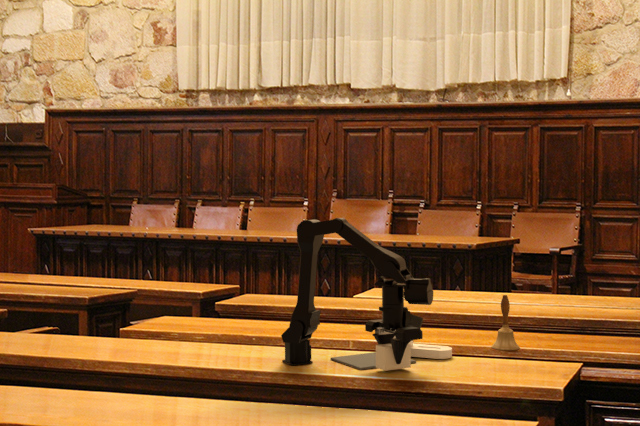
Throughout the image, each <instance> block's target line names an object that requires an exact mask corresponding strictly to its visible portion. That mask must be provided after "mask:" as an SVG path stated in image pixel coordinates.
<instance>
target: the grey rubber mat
mask: <svg viewBox="0 0 640 426" xmlns="http://www.w3.org/2000/svg"><path fill="white" fill-rule="evenodd" d="M330 360H331V361H334V362H336V363H338V364H342V363H343V364H342V365H344V364H346V365H345V366H347V365H349V366H348V367H350V366H352V367H351V368H353V367H354V369H356V368H357V370H359V369H360V370H359V371H364V369H365V370H371V368H373V369H377V368H376V351H375V352H365V353H356V354H349V355H341V356H334V357H332V356H331V357H330ZM416 363H417V360H415V359H412V358H411V364H416Z"/></svg>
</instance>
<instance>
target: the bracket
mask: <svg viewBox="0 0 640 426" xmlns="http://www.w3.org/2000/svg"><path fill="white" fill-rule="evenodd" d="M394 338H396V336H394ZM408 344H410V345H411V358H412V357H413V358H422V359H423V358H427V359H437V360H446V359H450V358H452V357H453V347H451V346H447V345H435V344H424V343H414V340H413V341H410V342H409V343H408Z"/></svg>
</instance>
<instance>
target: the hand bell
mask: <svg viewBox="0 0 640 426" xmlns="http://www.w3.org/2000/svg"><path fill="white" fill-rule="evenodd" d="M510 305H511V303H510V301H509V298H508V294H503V295H502V298H501V301H500V311H501V314H502V327H501V328H500V329H498V330H497V337H496V339H495V342H494V343H493V344H492V345H491V348H492V349H494V350H498V351H516V350H520V349H521V348H520V345H519V344H517V341H516V340H515V336H514V335H515V334H514V330H513V329H511V328H510V326H509V313H510V309H511V308H510Z"/></svg>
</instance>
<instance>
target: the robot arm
mask: <svg viewBox="0 0 640 426" xmlns="http://www.w3.org/2000/svg"><path fill="white" fill-rule="evenodd" d="M330 234H337V235H338V236H340V237H341V238H342V239H343V240H344V241H346V242H347V243H348V244H350V245H351V246H352V247H353V248H355V249H356V250H358V252H360V254H361V253H362V255H364V256H365V258H367V259H368V260H370V262H371V263H372V265H373V267H374V268H375V269H376V270H377V271H378V272H379V273H380V275H381V276H379V278H378V280H376V282H374V284H373V286H375V287H381V306H378V311H379V312H381V318H380V319H371V320H370V319H369V320H367V321H366V323H365V330H364V331H365V332H369V333H372V336H373V337H374V339H375V342H376V343H377V345H380V344H388V343H391V345H392V349H393V353H394V357H395V361H396V364H400V363H401V361H402V358H403V355H404V352H405V349H406V347H407V344H408V343H409V342H410V341H413V342H414V341H416V340H423V330H422V329H421V328H422V324H423V321H424V318H423V317H421V316H418V315H415V314H412V313H411V311H410V310H409V308H408V307H407V306H405V302H407V303H408V304H409V305H420V306H421V305H422V306H431V305H432V304H433V300H434V289H433V285H432V283H431V278H429V277H428V278H427V277H426V278H415V277H414V276H413V275H412V274H411V272H410V270H409V268H407V263H406V259H405V258H403V256H401V255H399V254H397V253H396V252H394V251H391V250H389V249H387V248H384V247H382V246H381V245H379V244H378V243H376V242H375V241H374V240H372V239H370V238H369V237H368V236H367V235H365V234H364V233H363V232H362V231H360V230H359V229H358V228H356V227H355V226H354V225H352V224H351V223H350V222H349V221H348V220H347V219H346V218H345V217H335V218H333V219H328V220H322V221H321V220H318V219H307V220H302V221H301V222H300V223H298V224H297V227H296V239H297V240H296V241H297V244H298V248H299V251H300V259H299V260H300V262H299V272H298V273H299V274H298V287H297V297H296V298H297V299H296V305H295V307H294V309H293V312H291V316H290V320H289V321H290V322H289V327H288V328H286V329H285V331H284V332H283V333H282V334H281V336H280V337H281V340H282V342H283V344H284V359H282V363H285V364H287V365H290V366H299V365H298V364H301V365H308V364H313V363H314V362H313V361H314V360H312V345H311V344H310V343H311V341H310V340H309V339H312V337H313V334H314V332H316V331H317V329H318V326H319V325H321V322H320V317H321V310H319V309H316V307H315V290H316V278H317V265H318V264H317V263H318V254H319V253H318V252H319V251H320V249H321V246H322V244H323V241H324V237H325V235H330ZM373 332H374V333H373ZM394 336H396V338H394Z"/></svg>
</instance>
